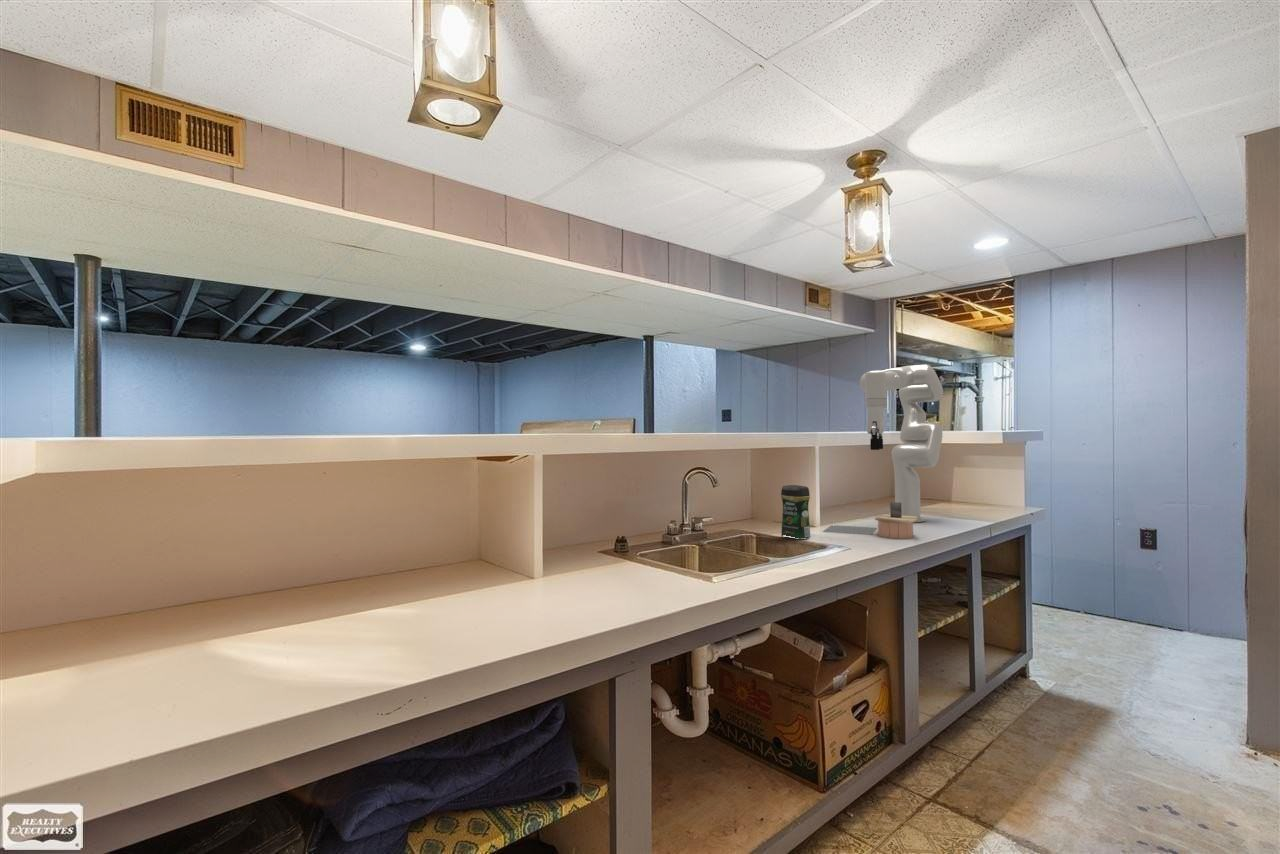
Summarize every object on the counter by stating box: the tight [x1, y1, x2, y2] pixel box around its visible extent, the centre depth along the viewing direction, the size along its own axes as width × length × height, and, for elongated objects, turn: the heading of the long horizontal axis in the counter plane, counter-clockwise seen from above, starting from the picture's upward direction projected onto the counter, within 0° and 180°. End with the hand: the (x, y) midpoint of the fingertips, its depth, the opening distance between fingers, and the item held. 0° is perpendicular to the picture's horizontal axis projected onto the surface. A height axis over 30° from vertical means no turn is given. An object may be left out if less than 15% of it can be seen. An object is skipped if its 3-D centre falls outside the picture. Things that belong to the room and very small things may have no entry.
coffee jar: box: [780, 484, 811, 539], centre depth 207 cm, size 10×8×19 cm
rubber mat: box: [822, 524, 878, 536], centre depth 219 cm, size 17×17×1 cm
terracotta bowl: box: [877, 521, 914, 539], centre depth 206 cm, size 11×11×6 cm
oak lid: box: [874, 501, 918, 523], centre depth 206 cm, size 14×14×6 cm
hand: (876, 449), depth 220 cm, fingers open, 9 cm apart
